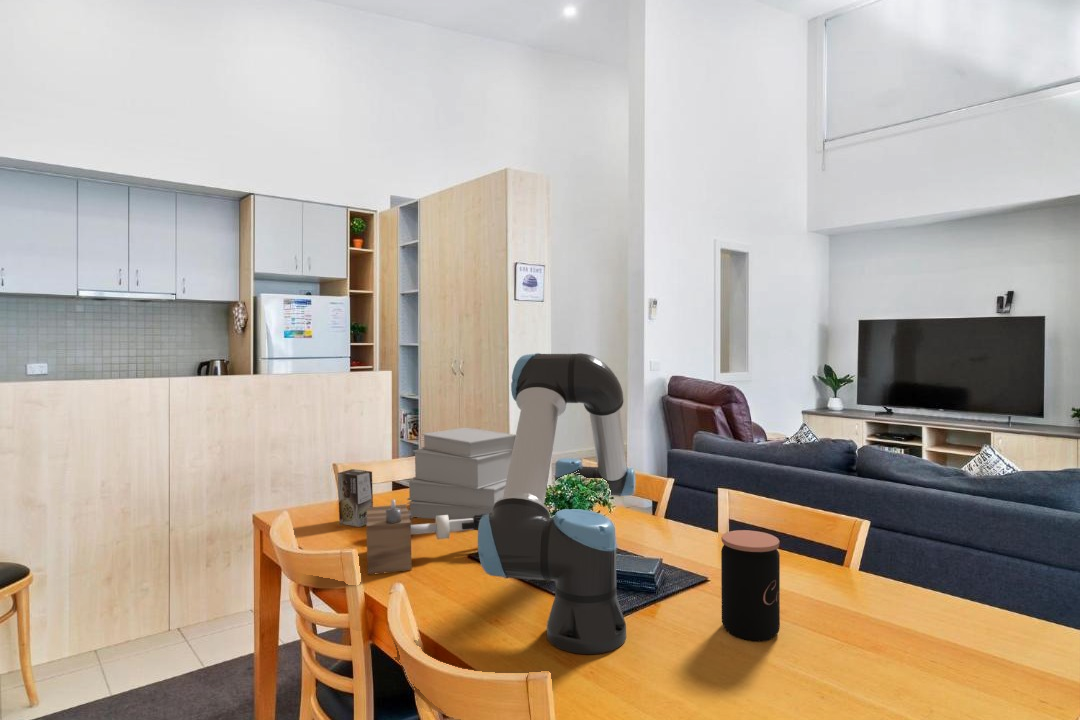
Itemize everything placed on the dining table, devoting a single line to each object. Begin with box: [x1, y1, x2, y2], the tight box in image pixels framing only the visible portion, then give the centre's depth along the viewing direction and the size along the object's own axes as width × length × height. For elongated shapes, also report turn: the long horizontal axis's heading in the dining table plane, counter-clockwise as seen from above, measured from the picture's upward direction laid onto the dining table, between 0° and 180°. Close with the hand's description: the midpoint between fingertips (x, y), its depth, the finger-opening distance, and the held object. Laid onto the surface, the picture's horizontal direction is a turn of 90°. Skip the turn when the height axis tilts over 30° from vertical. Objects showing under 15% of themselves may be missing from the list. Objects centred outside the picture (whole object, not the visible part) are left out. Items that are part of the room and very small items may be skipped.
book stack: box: [406, 427, 516, 520], centre depth 211 cm, size 30×35×26 cm
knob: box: [411, 515, 451, 540], centre depth 168 cm, size 6×15×6 cm, turn 105°
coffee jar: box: [720, 529, 781, 643], centre depth 124 cm, size 11×11×18 cm
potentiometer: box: [386, 499, 401, 524], centre depth 159 cm, size 4×4×5 cm
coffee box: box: [337, 468, 374, 528], centre depth 200 cm, size 9×6×16 cm
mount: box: [366, 503, 413, 575], centre depth 166 cm, size 18×11×12 cm, turn 15°
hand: (448, 525), depth 170 cm, fingers closed
